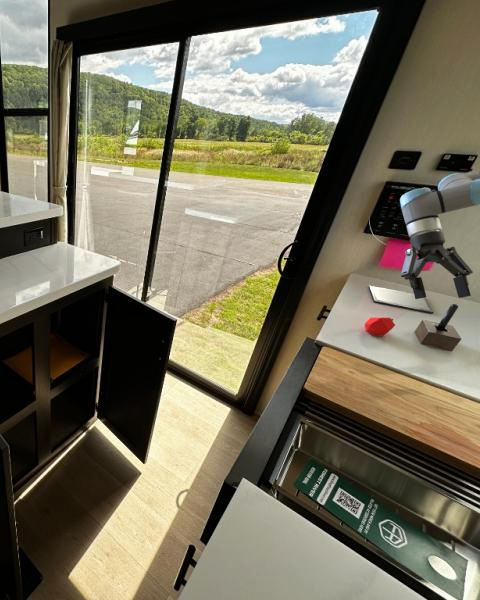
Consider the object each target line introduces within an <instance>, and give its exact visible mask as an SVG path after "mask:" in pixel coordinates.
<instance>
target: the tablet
mask: <svg viewBox="0 0 480 600" xmlns="http://www.w3.org/2000/svg"><path fill="white" fill-rule="evenodd" d="M368 289H369V290H368V291H369V293H370V295H371V298H372V301H373V303H377V304H382V305H387V306H391V307H397V308H401V309H407V310H411V311H416V312H422V313H427V314H432V315H433V314H434V313H435V312H434V310H433V309H432V307H431V305H430V303H429V302H428V299H426V298H427V297H425V298H420V299H415V296H414V292H407V291H401V290H395V289H390V288H385V287H379V286H373V285H368Z"/></svg>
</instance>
